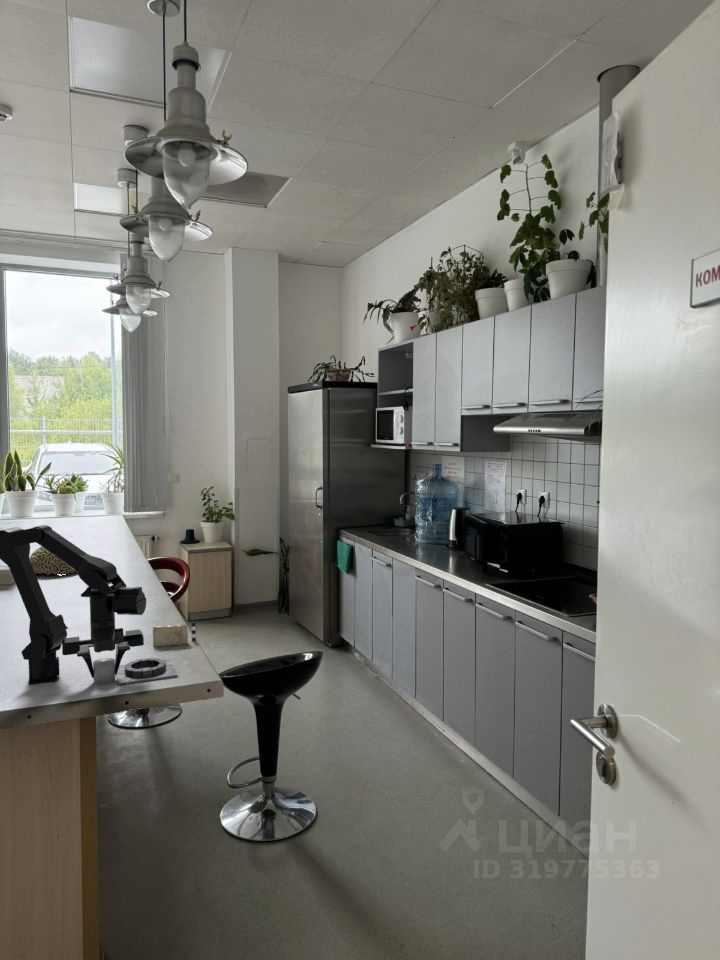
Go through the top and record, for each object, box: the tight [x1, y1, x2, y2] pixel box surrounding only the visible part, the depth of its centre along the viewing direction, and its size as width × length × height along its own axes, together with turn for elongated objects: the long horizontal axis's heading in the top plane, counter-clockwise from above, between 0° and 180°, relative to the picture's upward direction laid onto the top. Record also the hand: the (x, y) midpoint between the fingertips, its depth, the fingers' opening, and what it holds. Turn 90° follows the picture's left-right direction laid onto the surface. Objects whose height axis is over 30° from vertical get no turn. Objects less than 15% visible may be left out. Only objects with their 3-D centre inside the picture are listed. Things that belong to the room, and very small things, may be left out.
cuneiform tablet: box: [152, 622, 197, 648], centre depth 196 cm, size 6×4×12 cm
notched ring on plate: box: [116, 657, 179, 686], centre depth 172 cm, size 14×14×2 cm
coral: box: [29, 545, 76, 576], centre depth 302 cm, size 23×18×15 cm
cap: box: [92, 657, 116, 685], centre depth 166 cm, size 5×5×5 cm
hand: (104, 675), depth 166 cm, fingers closed on cap, 5 cm apart
